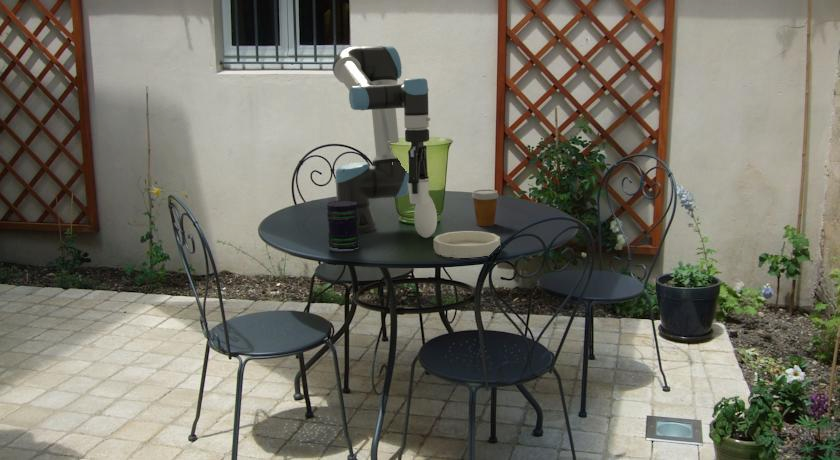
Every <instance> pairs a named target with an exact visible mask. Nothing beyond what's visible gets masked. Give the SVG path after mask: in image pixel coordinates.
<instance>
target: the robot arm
mask: <svg viewBox="0 0 840 460" xmlns="http://www.w3.org/2000/svg"><path fill="white" fill-rule="evenodd" d="M402 71H403V70H402V62H401V57H400V55H399V52H398V50H397V48H395V47H394V46H392V45H390V46H389V45H373V46H372V45H371V46H369V45H368V46H351V47H348V48H345V49H344V50H341V51H340V52H339V53H338V54H337V56H335V58H334V60H333V62H332V72H333V75H334V77H335V78H336V79H337V80H338V81H339V82H340V83H341V84H344V86H345V87H346V88H347V89H348V102H349V107H350V108H351V109H352V110H353V111H370V110H371V115H372V126H373V137H374V148H375V157H374V159H372V165H370V164H369V162H365V161H361V162H352V163H351V162H350V163H347V164H343V165H340V166H339V167H337V169H336V170H335V181H334V182H335V188H336V192H335V194H336V201H355V202H357V210H358V214H357V215H358V220H357V228H358V232H359V234H364V233H369V232H372V231H375V230H376V226H377V225H376V224H377V223H376V220H375V218H374V214H373V212H372V209H371V203H370V202H371V200H376V199H388V198H394V199H395V198H398V197H399V198H401V197H405V196H407V195H409V190H408V183H411V201H412V204H411V205H416V204H421V201H420V183H419V179H425V180H429V178H430V177H429V176H428V175H429V173H428V158H427V147H428V146H427V145H425V144H424V143H425V142H428V141H430V130H429V129H428V128H429V127H430V124H429V122H430V121H431V118H430V117H429V86H428V80H427V79H426V78H424V77H422V78H421V77H419V78H418V77H415V78H405V79H404V80H403V82H402V83H399V84H398V80H399V79H400V78H401V77H402ZM397 109H403V110H404V111H403V112H404V117H403V118H404V129H405V130H404V141H405V142H406V143H410V148H409V149H408V150H407V154H408V155H407V156H408V164H409V173H407V171H405V169H404V168H403V167H402V166H401V163H400V161H399V160H398V158H397V157H395V156H394V155H393V153H392V154H391V150H392V147H391V148H390V143H397V142H399V143H400V138H399V130H398V129H399V128H398V119H397ZM388 141H390V142H388ZM387 142H388V143H387ZM392 162H393V165H392ZM407 181H408V182H407Z"/></svg>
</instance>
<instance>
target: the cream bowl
mask: <svg viewBox="0 0 840 460" xmlns="http://www.w3.org/2000/svg"><path fill="white" fill-rule="evenodd" d="M432 243H433V249H434V253H435V254H436V255H438V256H440V255H441V257H443V258H444V257H445V258H449V257H453V258H452V259H460V258H471V257H482V256H488V257H490V256H489V255H490V254H491V253H492V252H493V251H494V250H495V249H496V248H497V247H498V246H499V245H500V246H501V237H500V236H499V235H497V234H496V233H493V232H492V233H491V232H488V231H480V230H479V231H477V230H476V231H475V230H460V231H459V230H458V231H450V232H445V233H441V234H437V235H436V236H435V237H434V238H433V242H432ZM482 258H483V257H482ZM471 259H472V258H471Z"/></svg>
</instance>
